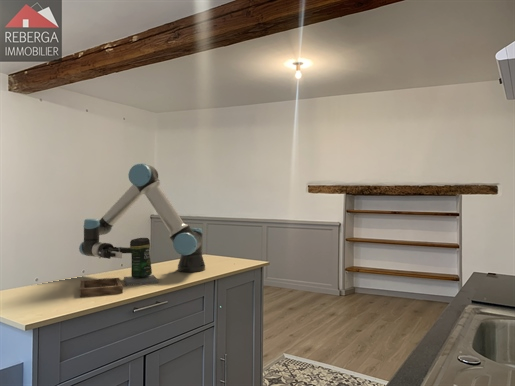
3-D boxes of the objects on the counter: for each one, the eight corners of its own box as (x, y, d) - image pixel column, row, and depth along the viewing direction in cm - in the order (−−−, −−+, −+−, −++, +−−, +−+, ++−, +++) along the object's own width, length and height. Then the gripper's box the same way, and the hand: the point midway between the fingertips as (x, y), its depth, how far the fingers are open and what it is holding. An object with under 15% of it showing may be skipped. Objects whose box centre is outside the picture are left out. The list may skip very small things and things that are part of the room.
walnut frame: (118, 284, 176) (118, 277, 176) (122, 293, 159) (122, 285, 159) (80, 287, 169) (80, 280, 169) (80, 297, 153) (80, 289, 153)
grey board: (153, 277, 191) (153, 274, 191) (158, 283, 179) (158, 279, 179) (123, 279, 185) (123, 276, 185) (126, 285, 173) (126, 282, 173)
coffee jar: (142, 278, 179) (140, 238, 180) (128, 278, 182) (126, 239, 182) (155, 274, 188) (152, 236, 189) (141, 274, 191) (139, 237, 191)
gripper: (123, 254, 206) (151, 258, 195) (81, 260, 184) (110, 265, 173) (123, 240, 206) (151, 243, 195) (81, 245, 184) (111, 248, 174)
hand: (132, 253), depth 184 cm, fingers open, 13 cm apart
